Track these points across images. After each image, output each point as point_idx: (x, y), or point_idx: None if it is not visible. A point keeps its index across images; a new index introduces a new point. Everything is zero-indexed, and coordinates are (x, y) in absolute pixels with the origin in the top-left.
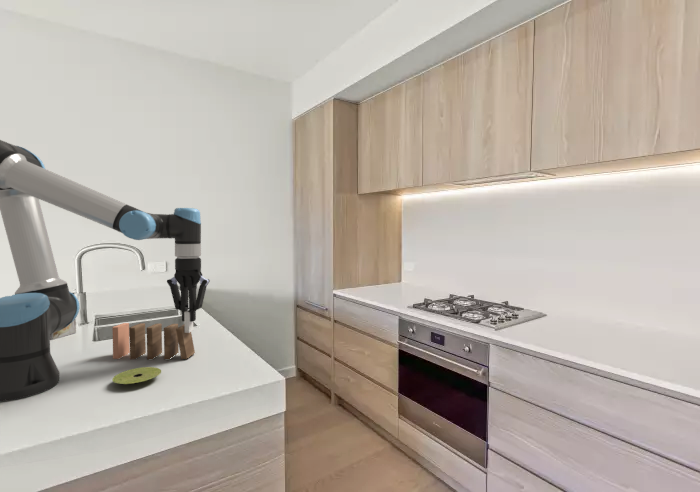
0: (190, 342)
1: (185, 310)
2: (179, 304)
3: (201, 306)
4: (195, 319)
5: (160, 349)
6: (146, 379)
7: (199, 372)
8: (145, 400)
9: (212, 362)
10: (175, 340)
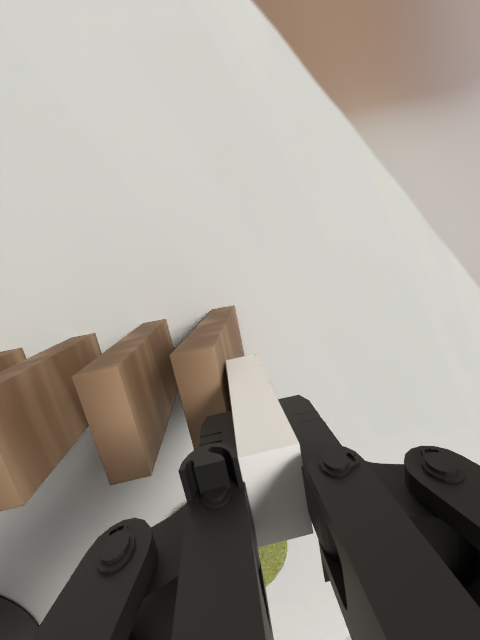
0: (232, 339)
1: (256, 541)
2: (89, 619)
3: (474, 477)
4: (306, 401)
5: (87, 351)
6: (276, 567)
7: (350, 439)
8: (321, 588)
9: (346, 361)
10: (157, 363)
